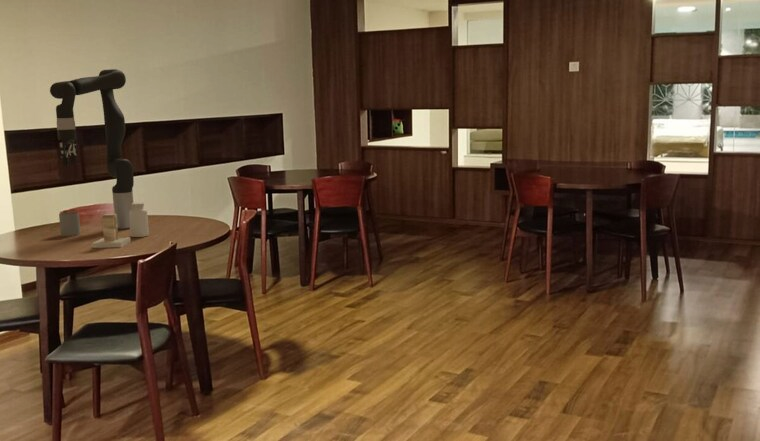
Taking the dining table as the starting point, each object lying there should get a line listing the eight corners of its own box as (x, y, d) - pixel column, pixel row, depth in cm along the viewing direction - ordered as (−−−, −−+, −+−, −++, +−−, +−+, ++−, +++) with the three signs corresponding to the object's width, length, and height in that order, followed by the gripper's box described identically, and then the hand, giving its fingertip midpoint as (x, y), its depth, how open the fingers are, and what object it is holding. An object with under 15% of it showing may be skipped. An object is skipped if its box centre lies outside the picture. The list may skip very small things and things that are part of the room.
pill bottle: (152, 234, 345) (150, 202, 343) (141, 238, 338) (139, 204, 335) (138, 234, 348) (135, 201, 345) (126, 237, 340) (124, 204, 338)
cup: (73, 236, 346) (71, 215, 345) (57, 236, 348) (55, 214, 346) (84, 233, 354) (82, 212, 353) (68, 233, 356) (66, 212, 354)
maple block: (108, 239, 325) (105, 214, 324) (118, 238, 325) (116, 213, 324) (104, 241, 321) (102, 215, 319) (114, 240, 321) (112, 215, 319)
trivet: (103, 242, 329) (102, 237, 329) (130, 241, 329) (130, 237, 329) (92, 247, 318) (92, 243, 317) (121, 247, 317) (120, 242, 317)
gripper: (68, 129, 324) (71, 166, 327) (81, 127, 338) (84, 163, 341) (50, 129, 324) (54, 167, 327) (64, 128, 338) (68, 164, 341)
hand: (69, 165), depth 334 cm, fingers open, 8 cm apart
